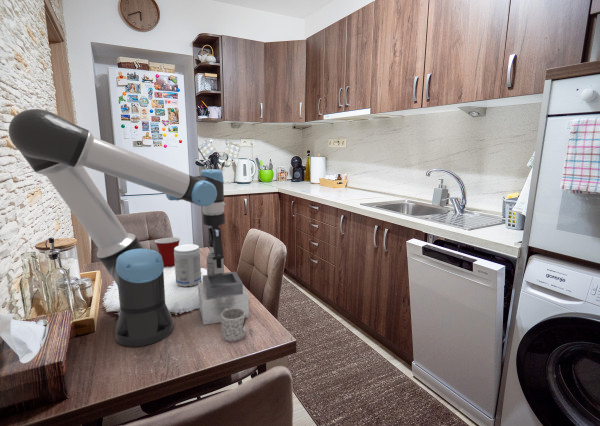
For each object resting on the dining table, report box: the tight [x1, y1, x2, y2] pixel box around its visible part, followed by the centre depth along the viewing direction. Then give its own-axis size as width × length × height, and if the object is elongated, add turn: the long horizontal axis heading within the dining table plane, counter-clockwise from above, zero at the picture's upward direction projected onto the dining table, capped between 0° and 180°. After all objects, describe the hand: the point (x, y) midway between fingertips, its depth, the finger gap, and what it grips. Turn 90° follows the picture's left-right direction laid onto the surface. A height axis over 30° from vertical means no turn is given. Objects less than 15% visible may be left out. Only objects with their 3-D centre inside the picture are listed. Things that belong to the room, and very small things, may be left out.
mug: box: [220, 308, 246, 342], centre depth 95 cm, size 10×7×7 cm
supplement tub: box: [174, 243, 202, 288], centre depth 129 cm, size 10×10×15 cm
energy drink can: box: [206, 251, 225, 275], centre depth 121 cm, size 6×6×15 cm
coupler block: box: [197, 271, 250, 326], centre depth 107 cm, size 14×14×11 cm
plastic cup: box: [154, 237, 181, 267], centre depth 149 cm, size 11×11×12 cm
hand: (216, 269), depth 121 cm, fingers open, 13 cm apart
